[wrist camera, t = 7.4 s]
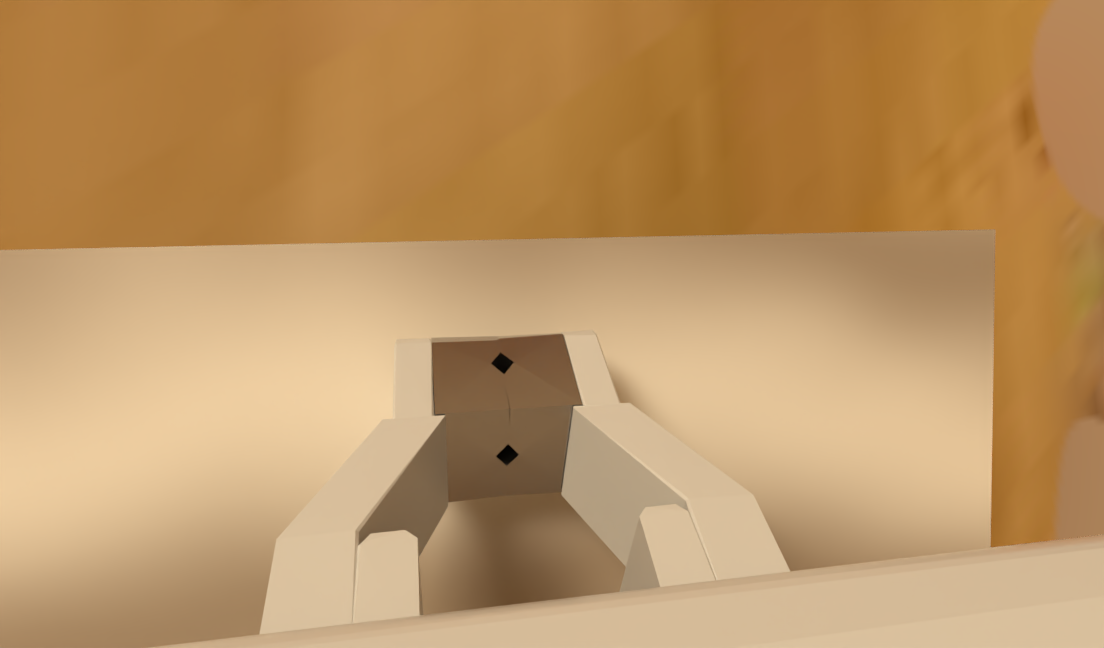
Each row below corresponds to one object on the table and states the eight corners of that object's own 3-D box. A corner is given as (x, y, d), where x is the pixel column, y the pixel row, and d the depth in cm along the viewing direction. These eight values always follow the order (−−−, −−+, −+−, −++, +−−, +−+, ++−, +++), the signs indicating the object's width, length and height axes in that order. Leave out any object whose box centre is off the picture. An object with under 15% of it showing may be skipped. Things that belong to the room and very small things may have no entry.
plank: (898, 795, 16) (985, 889, 13) (-22, 971, 12) (-134, 1143, 10) (900, 237, 15) (995, 229, 12) (-92, 260, 11) (-234, 255, 9)
